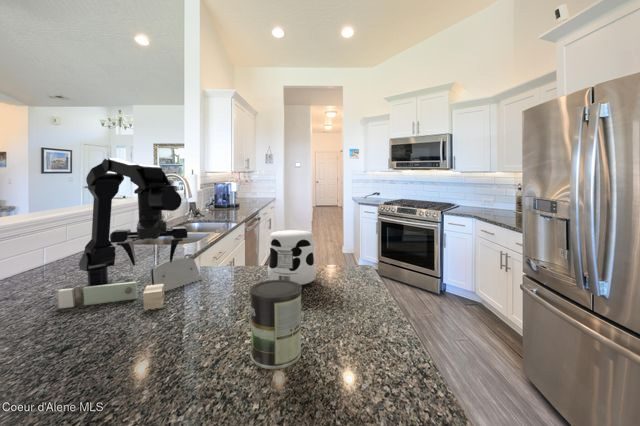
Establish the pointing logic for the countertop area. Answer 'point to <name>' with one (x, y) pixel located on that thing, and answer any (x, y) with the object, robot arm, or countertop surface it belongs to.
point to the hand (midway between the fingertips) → (153, 263)
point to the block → (153, 296)
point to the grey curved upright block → (175, 273)
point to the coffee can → (275, 323)
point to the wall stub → (66, 298)
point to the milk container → (292, 256)
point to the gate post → (78, 295)
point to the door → (110, 293)
